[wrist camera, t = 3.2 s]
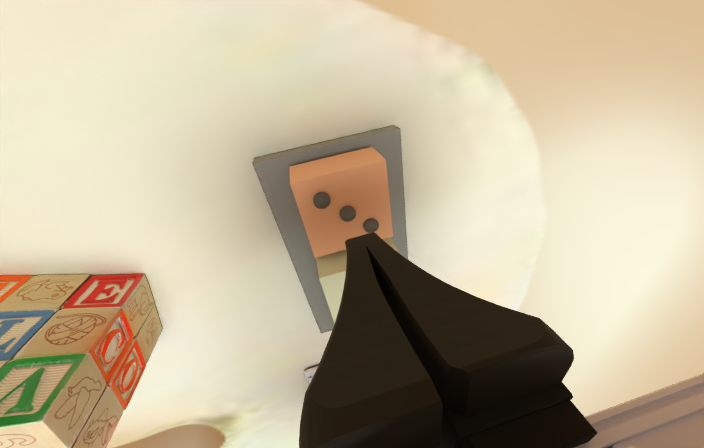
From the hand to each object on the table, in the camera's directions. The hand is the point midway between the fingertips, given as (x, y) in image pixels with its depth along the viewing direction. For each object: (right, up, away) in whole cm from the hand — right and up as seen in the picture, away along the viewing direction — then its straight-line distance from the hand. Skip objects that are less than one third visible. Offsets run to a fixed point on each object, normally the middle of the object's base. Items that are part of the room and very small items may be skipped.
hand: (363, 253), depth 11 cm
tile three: (-1, +3, +5) cm, 6 cm away
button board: (-1, 0, +9) cm, 9 cm away
